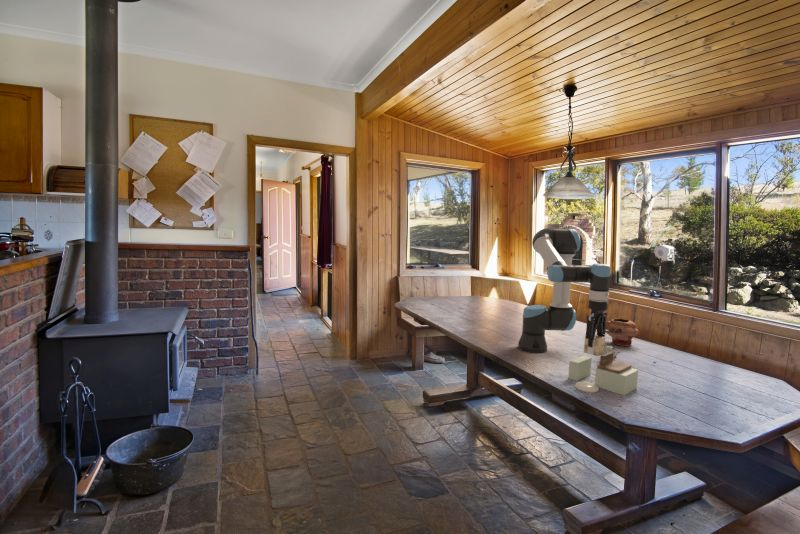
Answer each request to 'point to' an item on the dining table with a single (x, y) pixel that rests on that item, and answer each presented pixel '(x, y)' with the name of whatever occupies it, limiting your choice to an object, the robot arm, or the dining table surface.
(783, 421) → the dining table surface
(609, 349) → the game die
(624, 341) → the decorative planter
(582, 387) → the cream coaster
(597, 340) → the maple block
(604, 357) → the walnut cover
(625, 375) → the pale green split block
